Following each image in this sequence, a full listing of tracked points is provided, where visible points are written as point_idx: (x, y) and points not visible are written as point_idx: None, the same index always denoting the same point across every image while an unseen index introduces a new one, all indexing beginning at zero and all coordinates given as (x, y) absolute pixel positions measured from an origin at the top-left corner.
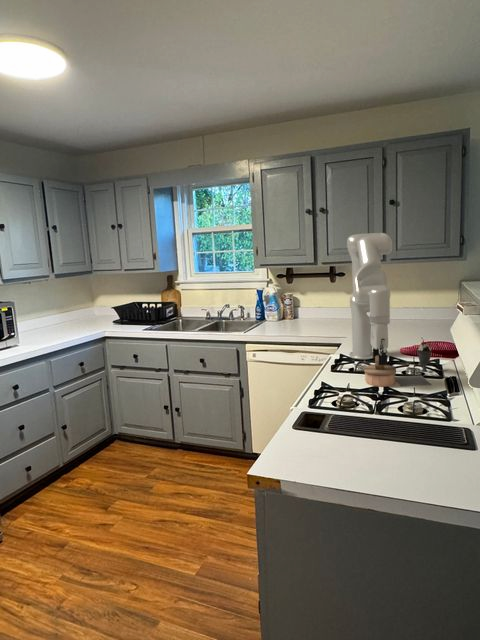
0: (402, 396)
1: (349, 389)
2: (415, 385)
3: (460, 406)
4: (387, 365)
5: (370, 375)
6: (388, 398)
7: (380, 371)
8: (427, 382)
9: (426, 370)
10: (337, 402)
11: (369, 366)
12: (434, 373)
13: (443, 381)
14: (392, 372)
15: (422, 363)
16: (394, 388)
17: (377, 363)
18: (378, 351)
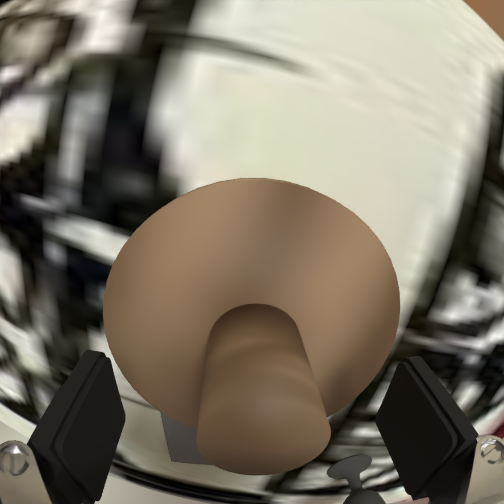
0: (39, 321)
1: (159, 47)
2: (165, 421)
3: (11, 423)
4: (326, 407)
5: None
6: (10, 250)
7: (157, 323)
8: (205, 460)
9: (344, 477)
10: (11, 6)
11: (354, 267)
12: (323, 483)
13: (229, 487)
14: (142, 394)
15: (353, 494)
16: None
17: (218, 357)
18: (410, 459)
